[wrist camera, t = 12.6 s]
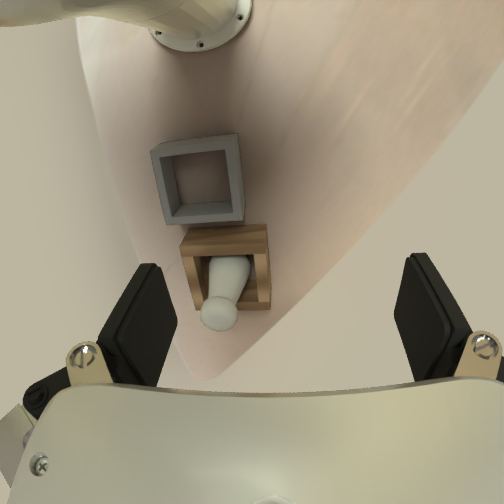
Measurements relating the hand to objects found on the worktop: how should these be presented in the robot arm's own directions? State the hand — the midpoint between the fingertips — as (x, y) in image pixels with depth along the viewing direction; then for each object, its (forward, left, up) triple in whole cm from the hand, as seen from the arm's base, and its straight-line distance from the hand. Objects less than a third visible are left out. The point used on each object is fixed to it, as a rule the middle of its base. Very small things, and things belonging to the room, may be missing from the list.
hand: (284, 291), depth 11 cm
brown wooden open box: (+17, -8, -28) cm, 34 cm away
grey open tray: (+4, -10, -28) cm, 30 cm away
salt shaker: (+17, -8, -28) cm, 34 cm away
